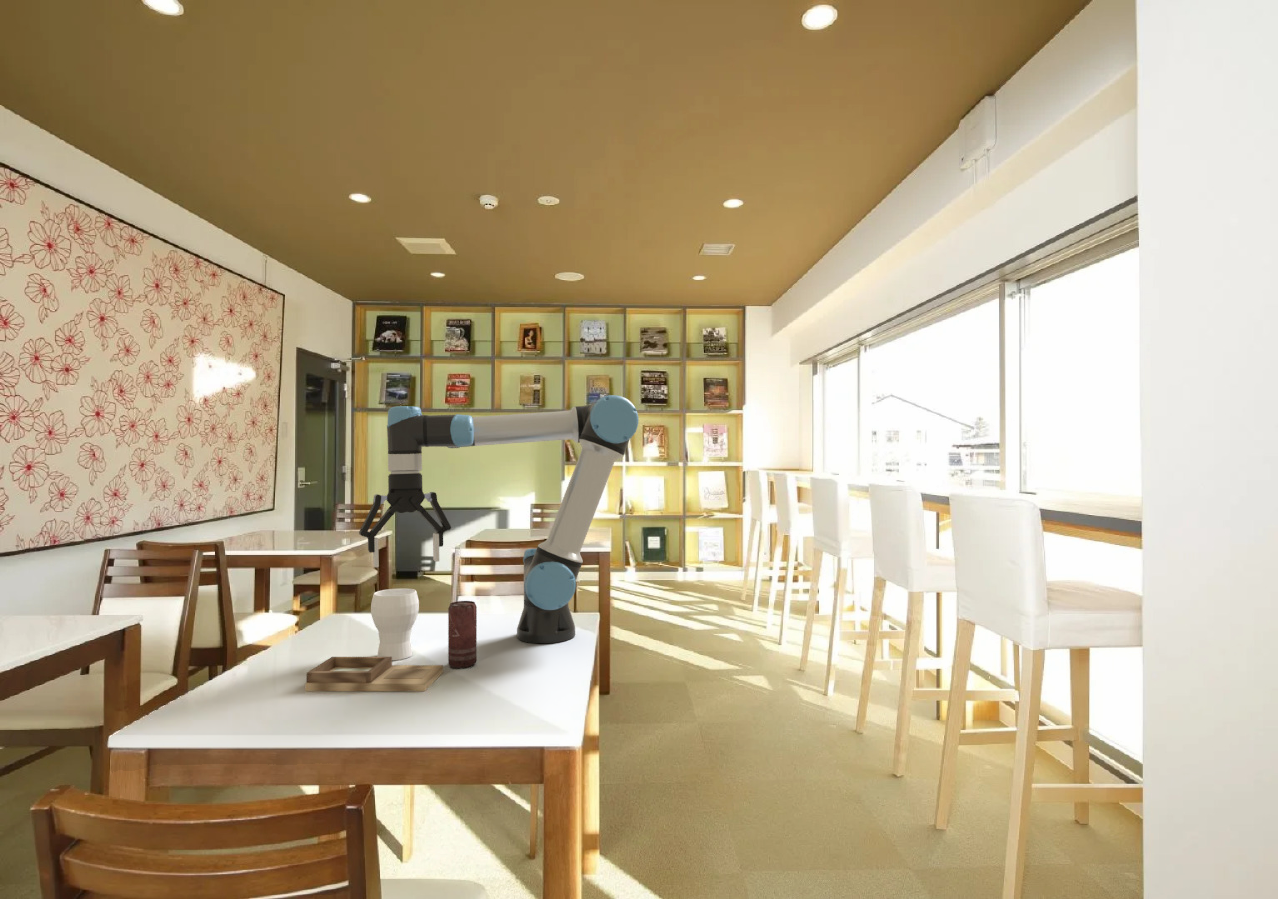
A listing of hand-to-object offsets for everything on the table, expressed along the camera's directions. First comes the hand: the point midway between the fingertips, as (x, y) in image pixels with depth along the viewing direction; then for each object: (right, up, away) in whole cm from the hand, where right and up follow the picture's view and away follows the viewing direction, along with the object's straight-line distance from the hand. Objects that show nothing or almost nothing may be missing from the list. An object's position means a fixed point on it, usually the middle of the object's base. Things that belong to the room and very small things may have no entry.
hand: (406, 563), depth 157 cm
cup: (-3, -22, +1) cm, 22 cm away
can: (+15, -22, -6) cm, 27 cm away
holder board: (0, -22, -17) cm, 27 cm away
